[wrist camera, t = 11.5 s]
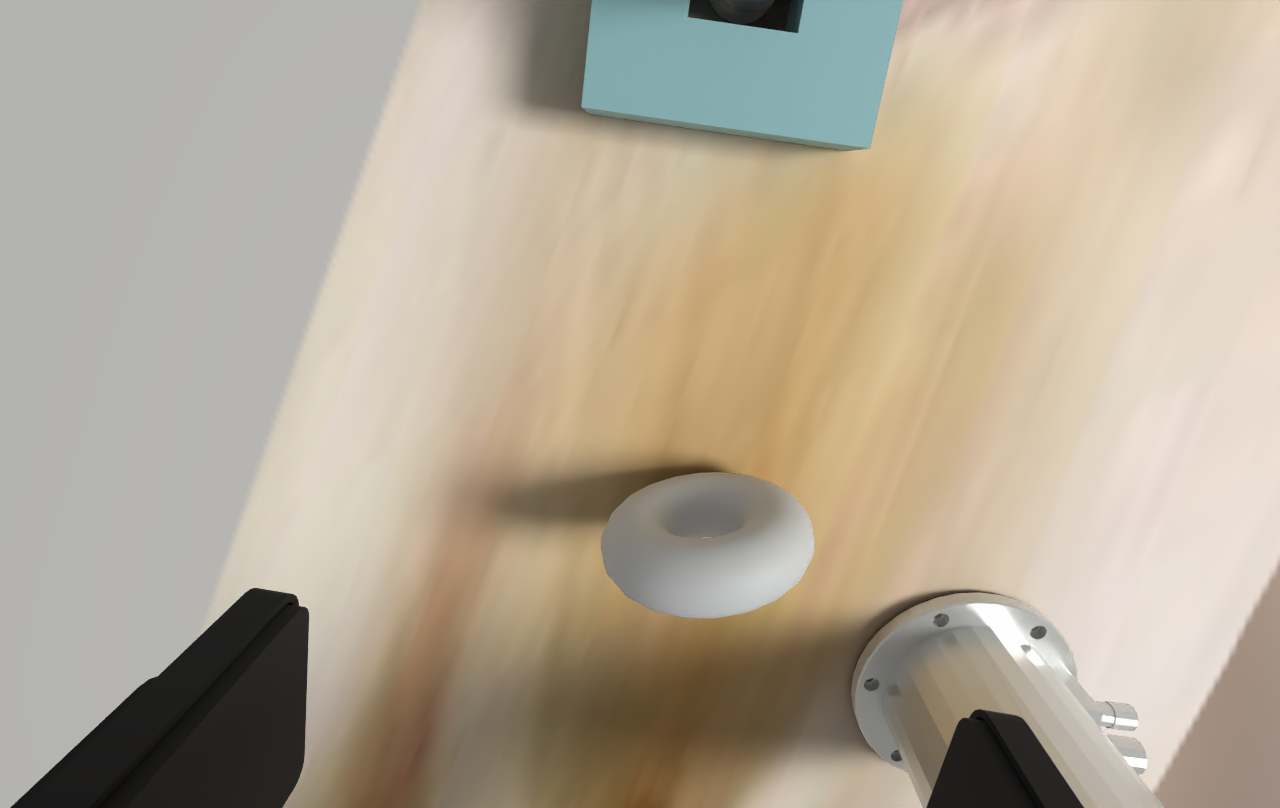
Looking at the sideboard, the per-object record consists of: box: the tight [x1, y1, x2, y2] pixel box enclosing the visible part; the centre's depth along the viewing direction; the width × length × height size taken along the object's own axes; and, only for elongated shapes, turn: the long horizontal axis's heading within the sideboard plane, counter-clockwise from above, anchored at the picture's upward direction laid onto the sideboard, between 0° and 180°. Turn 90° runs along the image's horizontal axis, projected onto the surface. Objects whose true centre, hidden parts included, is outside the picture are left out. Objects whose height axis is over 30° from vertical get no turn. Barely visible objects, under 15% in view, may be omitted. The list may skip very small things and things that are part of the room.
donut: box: [601, 472, 815, 618], centre depth 33 cm, size 10×4×10 cm, turn 96°
